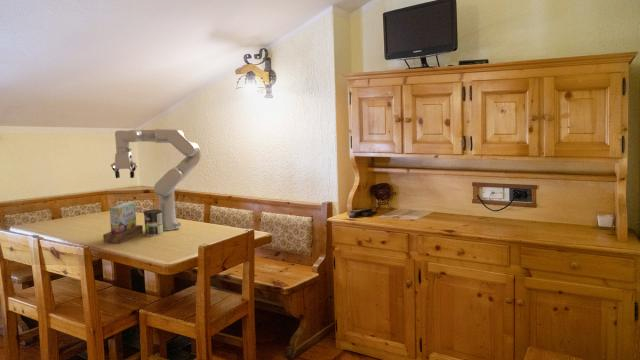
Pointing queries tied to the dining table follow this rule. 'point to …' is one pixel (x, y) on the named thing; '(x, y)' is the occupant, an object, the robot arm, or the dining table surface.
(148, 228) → the coffee can
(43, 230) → the dining table surface
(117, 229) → the snack box
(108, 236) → the walnut block
